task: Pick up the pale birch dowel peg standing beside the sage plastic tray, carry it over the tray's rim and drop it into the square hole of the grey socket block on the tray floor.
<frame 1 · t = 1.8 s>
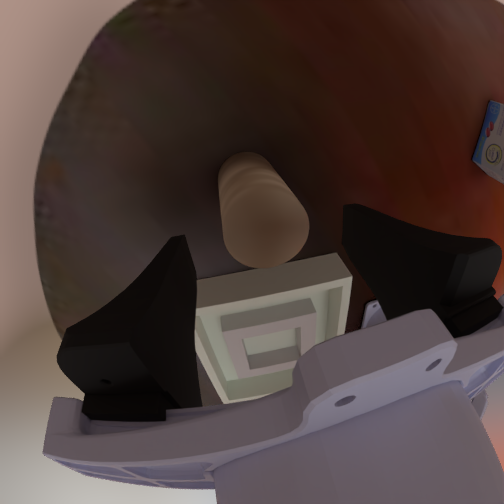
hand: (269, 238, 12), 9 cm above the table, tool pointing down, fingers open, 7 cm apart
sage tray: (269, 331, 28), on the table
medicine box: (487, 137, 19), on the table
birch peg: (245, 178, 19), on the table
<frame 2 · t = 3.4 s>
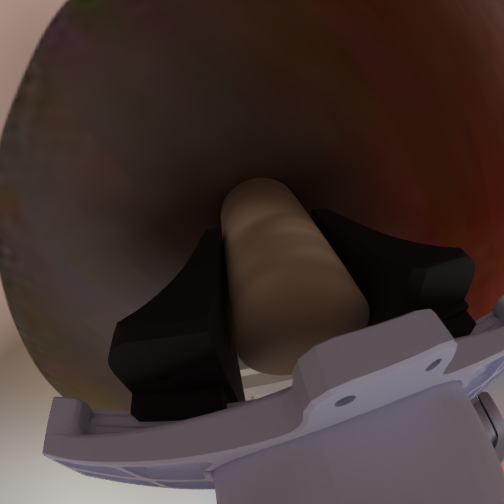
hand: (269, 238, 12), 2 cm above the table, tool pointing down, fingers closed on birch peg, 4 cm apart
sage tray: (280, 379, 23), on the table
birch peg: (259, 214, 14), on the table, touching gripper
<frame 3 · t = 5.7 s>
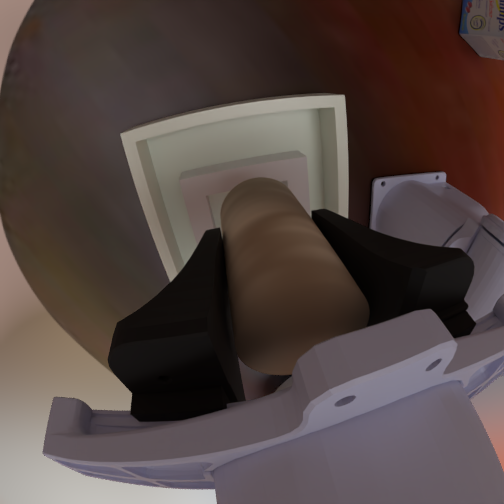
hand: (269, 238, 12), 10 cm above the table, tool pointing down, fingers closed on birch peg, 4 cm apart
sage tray: (248, 208, 22), on the table
medicine box: (471, 21, 13), on the table
birch peg: (259, 214, 14), point 7 cm above the table, touching gripper
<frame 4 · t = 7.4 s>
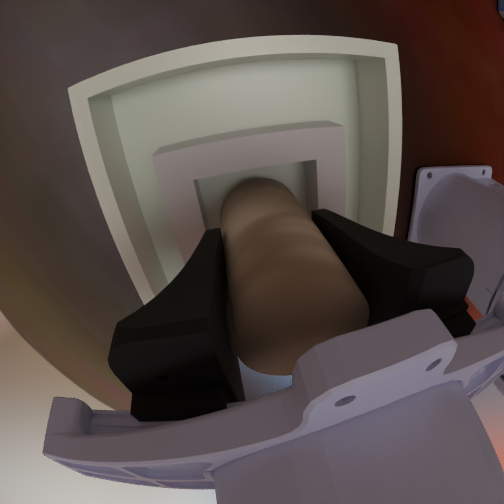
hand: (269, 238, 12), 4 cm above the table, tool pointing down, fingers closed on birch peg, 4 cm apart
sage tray: (255, 202, 15), on the table
birch peg: (259, 214, 14), point 2 cm above the table, touching gripper
when the fingers open (4 cm above the table, at t = 8.4 s): birch peg stays where it is, resting on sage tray.
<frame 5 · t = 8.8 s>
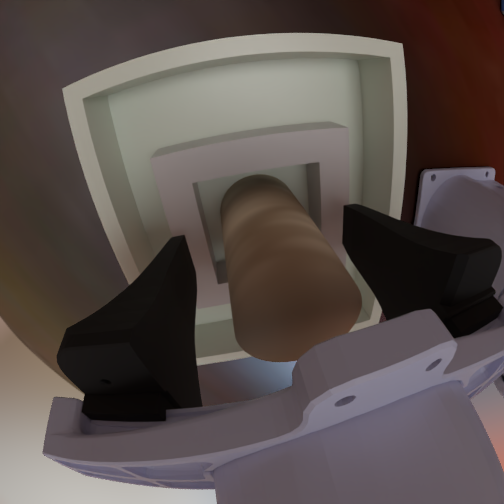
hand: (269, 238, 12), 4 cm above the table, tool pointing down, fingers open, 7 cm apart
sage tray: (256, 205, 15), on the table
birch peg: (258, 210, 15), point 1 cm above the table, touching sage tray
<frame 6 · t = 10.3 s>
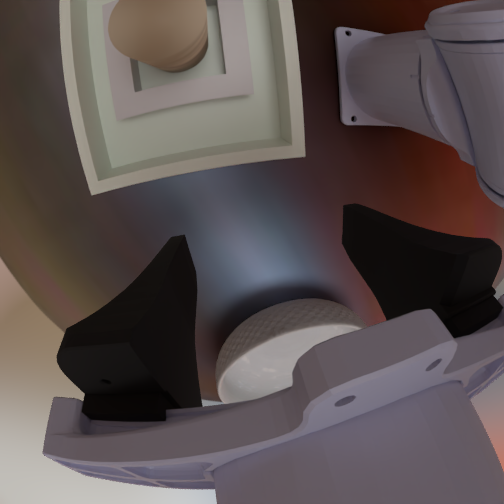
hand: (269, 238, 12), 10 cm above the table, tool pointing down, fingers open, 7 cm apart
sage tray: (178, 47, 14), on the table
birch peg: (177, 45, 14), point 1 cm above the table, touching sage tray
cereal bowl: (285, 330, 31), on the table
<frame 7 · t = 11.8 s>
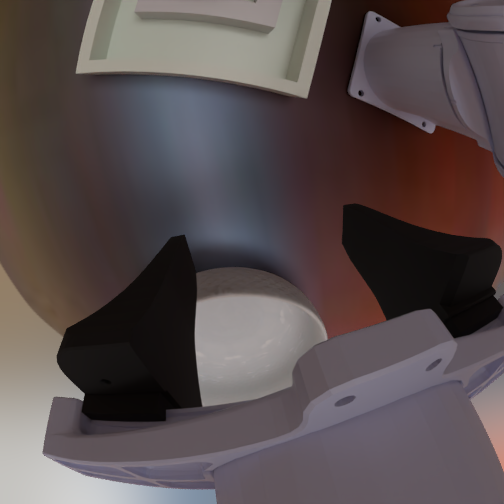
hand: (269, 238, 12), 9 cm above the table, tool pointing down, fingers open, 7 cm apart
cereal bowl: (225, 310, 28), on the table
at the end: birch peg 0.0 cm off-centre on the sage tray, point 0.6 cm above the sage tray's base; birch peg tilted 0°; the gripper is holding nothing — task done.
